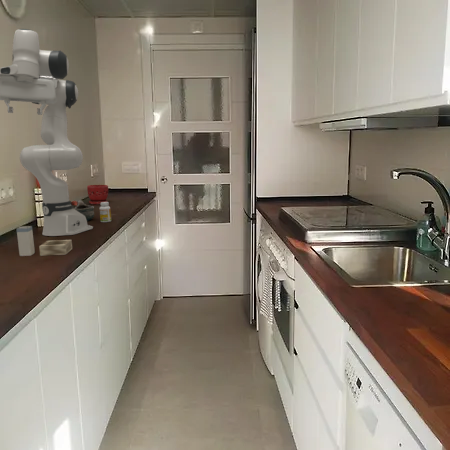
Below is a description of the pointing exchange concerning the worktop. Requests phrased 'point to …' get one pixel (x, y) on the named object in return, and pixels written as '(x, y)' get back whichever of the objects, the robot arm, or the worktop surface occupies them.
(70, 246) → the holder
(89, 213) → the mug
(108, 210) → the supplement bottle
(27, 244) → the peg
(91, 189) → the plant pot
